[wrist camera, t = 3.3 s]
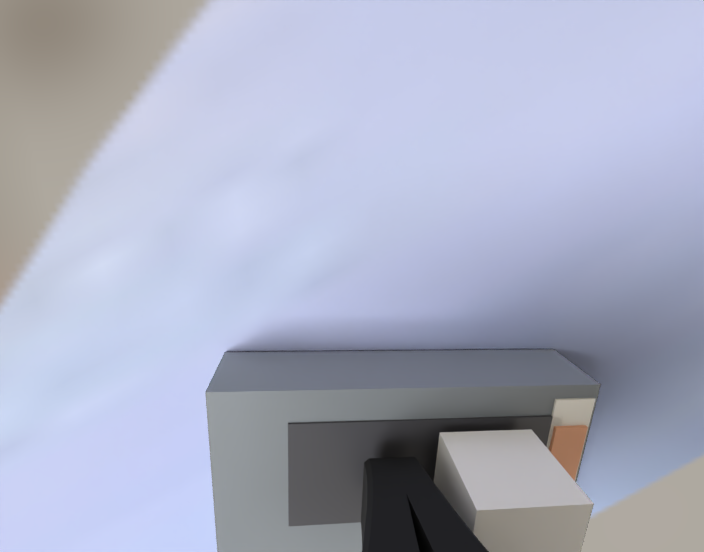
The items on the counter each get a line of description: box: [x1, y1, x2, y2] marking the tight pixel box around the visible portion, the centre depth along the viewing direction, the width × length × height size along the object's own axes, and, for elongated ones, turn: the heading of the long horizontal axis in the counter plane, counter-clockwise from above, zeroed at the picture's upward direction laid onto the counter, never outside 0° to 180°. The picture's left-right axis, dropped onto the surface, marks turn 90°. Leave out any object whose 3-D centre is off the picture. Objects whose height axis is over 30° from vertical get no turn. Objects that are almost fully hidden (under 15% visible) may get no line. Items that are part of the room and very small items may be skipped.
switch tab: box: [434, 429, 594, 552], centre depth 9 cm, size 3×2×2 cm
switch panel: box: [206, 349, 601, 552], centre depth 12 cm, size 12×10×2 cm
